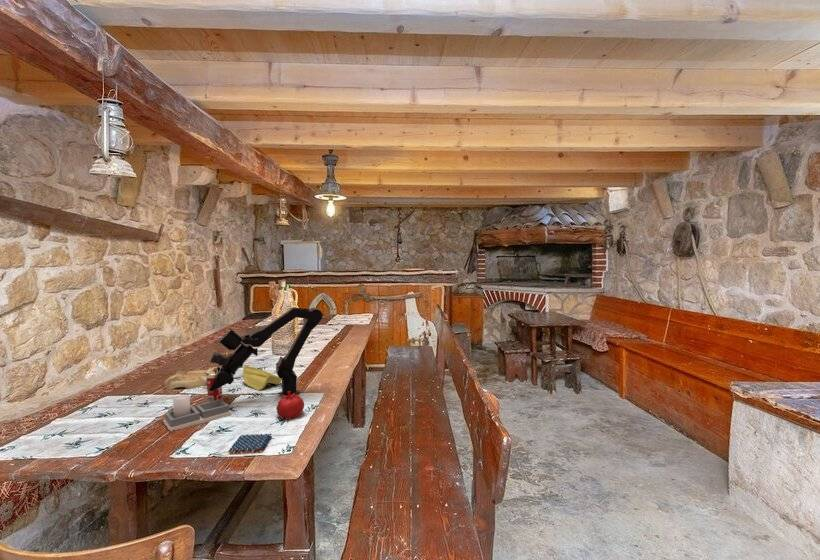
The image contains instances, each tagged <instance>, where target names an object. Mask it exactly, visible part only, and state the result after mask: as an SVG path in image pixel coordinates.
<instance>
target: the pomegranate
mask: <svg viewBox="0 0 820 560" xmlns="http://www.w3.org/2000/svg"><path fill="white" fill-rule="evenodd" d="M290 392H291V391H288V392H287V393H288V396H284V395H279V397H280V400H279V401H278V402H277V405H276V413H277V416H279V417H280V418H282V419H287V420H289V419H293V418H296V417H297V416H298V417H299V415H301V413H302V412H303V411H304V408H305V401H304V399H303V398H302V397H301V395H299V394H295V393H294V394H295V395H294V394H293V395H290Z"/></svg>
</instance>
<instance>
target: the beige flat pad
mask: <svg viewBox="0 0 820 560" xmlns="http://www.w3.org/2000/svg"><path fill="white" fill-rule="evenodd" d="M217 373H218V372H217V368H215V367H209V368H208V369H205V370H202V369H200V370H191V371H185V370H177V371H175V374H173V375H170V377H168V378H167V379H165V380H164V383H163V386H164V389H165V390H173V389H176V388H187V389H196V387H197V388H202V387H201V386H203V387H207V376H208V375H212V374H217Z"/></svg>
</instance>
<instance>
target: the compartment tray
mask: <svg viewBox="0 0 820 560" xmlns="http://www.w3.org/2000/svg"><path fill="white" fill-rule="evenodd" d="M172 402H173V408H172V409H173V410H170V411H166V412H164V418H163V424H164V425H165V427H166V426H167V427H166V428H167V429H168V431H169V430H170V431H171V432H174V431H173V430H175V431H178V429H179V430H182V429H185V428H189V427H194V426H197V425H200V424H203V423H207V422H211V421H215V420H217V419H221V418H225V417H228V416H229V417H230V416H232V411H231V410H230V405H229V403H227V402H226V401H224V399H223V400H222V399H219V400H214V401H210V402H208V401H206V402H203V403H199V404H196V405H195V406H194V405H191V396H190V395H188V394H182V395H178V396H175V397H174V398H172ZM170 431H169V432H170Z"/></svg>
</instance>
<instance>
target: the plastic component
mask: <svg viewBox="0 0 820 560" xmlns="http://www.w3.org/2000/svg"><path fill="white" fill-rule="evenodd" d="M242 378H243V380H244V383H245V384H246V386H248V387H250V388H252V389H255V390H257V391H261V390H264V389H265V387H267V384H273V385H277V386H279V385H281V384H282V379H281V378H280V377H279V376H278V375H276V374H273V373H271V372H268V371H266V370H262V369H259V368H256V367H253V366H249V365H243V369H242Z"/></svg>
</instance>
